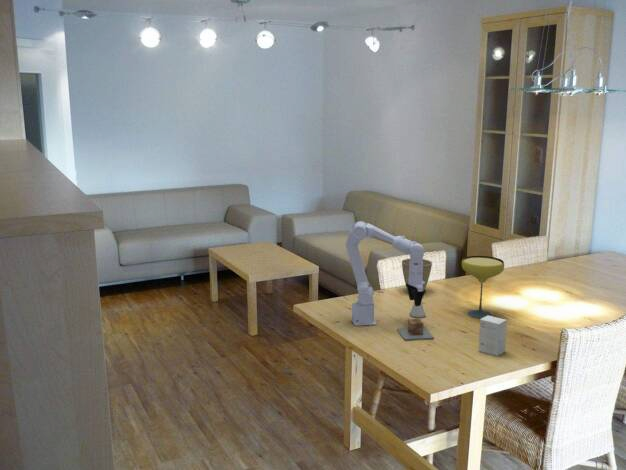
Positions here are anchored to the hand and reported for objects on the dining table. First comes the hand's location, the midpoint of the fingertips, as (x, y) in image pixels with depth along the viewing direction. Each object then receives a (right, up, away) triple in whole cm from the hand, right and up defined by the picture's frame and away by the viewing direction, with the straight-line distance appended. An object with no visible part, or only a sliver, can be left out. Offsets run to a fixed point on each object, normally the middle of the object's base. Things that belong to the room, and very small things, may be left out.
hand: (414, 302), depth 265 cm
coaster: (-1, -12, -9) cm, 15 cm away
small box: (+25, -16, -26) cm, 40 cm away
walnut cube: (-1, -11, -9) cm, 15 cm away
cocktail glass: (+32, -7, +14) cm, 35 cm away
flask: (+3, -7, +14) cm, 16 cm away
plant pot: (+8, 0, +46) cm, 46 cm away
